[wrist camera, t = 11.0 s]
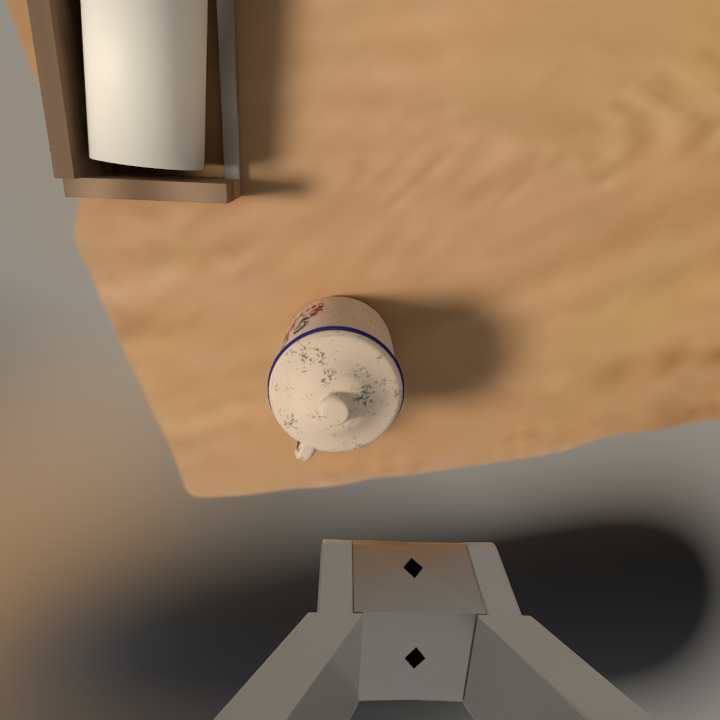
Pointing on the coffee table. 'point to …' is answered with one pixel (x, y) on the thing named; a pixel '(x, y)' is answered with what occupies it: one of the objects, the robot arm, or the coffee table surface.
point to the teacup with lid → (335, 377)
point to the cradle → (69, 118)
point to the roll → (146, 81)
